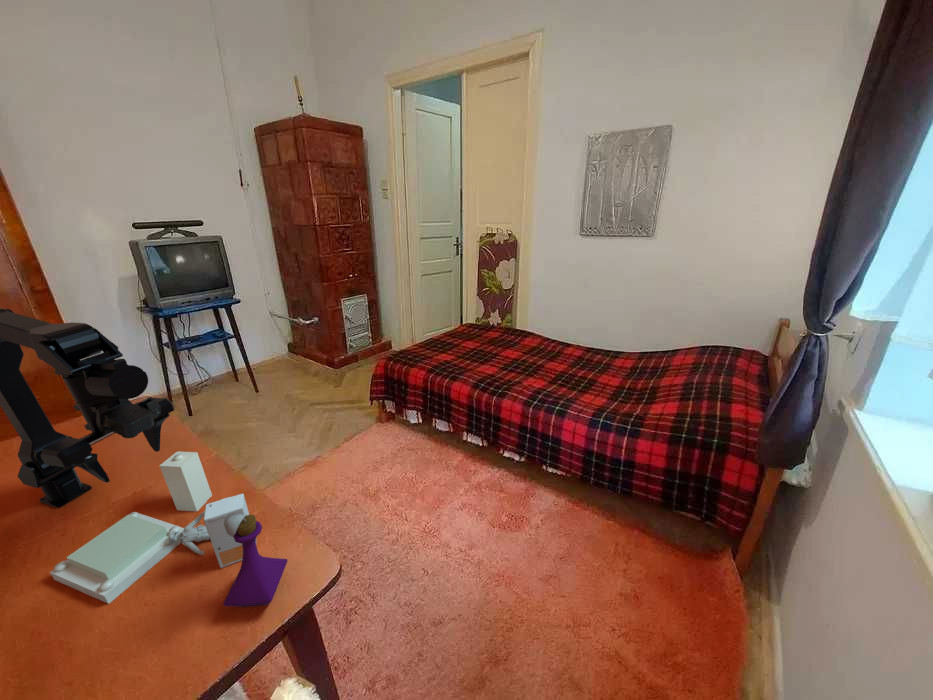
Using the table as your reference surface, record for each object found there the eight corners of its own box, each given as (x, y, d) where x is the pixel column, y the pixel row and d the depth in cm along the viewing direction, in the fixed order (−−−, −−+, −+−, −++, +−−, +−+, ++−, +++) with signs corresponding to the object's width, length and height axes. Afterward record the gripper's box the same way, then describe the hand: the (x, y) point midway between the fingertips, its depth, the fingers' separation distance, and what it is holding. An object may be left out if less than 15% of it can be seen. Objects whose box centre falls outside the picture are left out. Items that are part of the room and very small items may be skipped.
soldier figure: (242, 548, 73) (164, 561, 67) (239, 548, 77) (165, 561, 70) (245, 505, 76) (171, 513, 70) (242, 508, 80) (171, 516, 73)
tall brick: (177, 510, 81) (158, 463, 76) (193, 494, 85) (176, 448, 80) (197, 511, 81) (179, 464, 76) (212, 495, 85) (196, 449, 80)
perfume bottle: (248, 575, 67) (222, 498, 60) (291, 571, 68) (270, 495, 61) (227, 618, 60) (195, 537, 53) (275, 614, 61) (250, 533, 54)
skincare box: (220, 569, 68) (202, 520, 64) (221, 551, 72) (204, 503, 67) (257, 555, 71) (242, 507, 66) (257, 538, 74) (243, 491, 70)
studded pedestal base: (54, 579, 66) (44, 564, 65) (138, 519, 79) (132, 504, 77) (108, 603, 63) (99, 587, 61) (188, 536, 75) (182, 521, 73)
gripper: (62, 426, 57) (108, 506, 62) (179, 373, 73) (207, 440, 79) (16, 422, 60) (64, 498, 65) (139, 372, 76) (168, 436, 82)
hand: (133, 465), depth 73 cm, fingers open, 9 cm apart
